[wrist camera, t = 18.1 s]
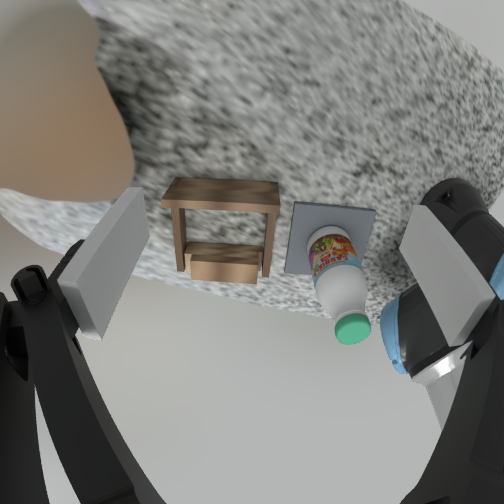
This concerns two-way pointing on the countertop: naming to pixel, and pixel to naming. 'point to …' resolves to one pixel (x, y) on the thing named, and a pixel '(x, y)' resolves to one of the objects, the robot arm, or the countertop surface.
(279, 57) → the countertop surface
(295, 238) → the rubber mat
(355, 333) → the milk bottle
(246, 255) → the frame
